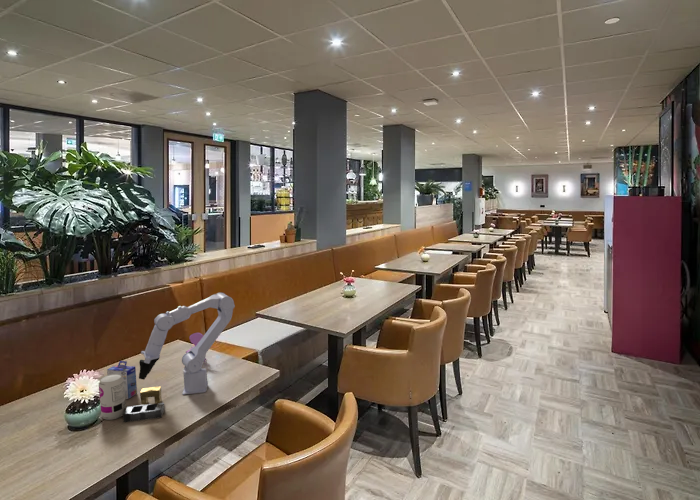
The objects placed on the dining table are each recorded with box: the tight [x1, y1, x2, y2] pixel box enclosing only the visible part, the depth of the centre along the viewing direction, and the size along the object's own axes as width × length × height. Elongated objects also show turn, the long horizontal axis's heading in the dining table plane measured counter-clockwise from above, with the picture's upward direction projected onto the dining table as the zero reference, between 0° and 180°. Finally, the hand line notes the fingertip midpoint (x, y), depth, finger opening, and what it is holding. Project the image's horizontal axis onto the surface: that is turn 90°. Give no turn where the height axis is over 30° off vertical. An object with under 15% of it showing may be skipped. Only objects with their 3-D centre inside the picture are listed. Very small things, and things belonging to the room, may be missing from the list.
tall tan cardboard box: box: [139, 385, 162, 405], centre depth 165 cm, size 7×4×6 cm, turn 104°
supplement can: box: [98, 374, 127, 421], centre depth 155 cm, size 8×8×15 cm
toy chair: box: [185, 332, 207, 361], centre depth 203 cm, size 8×9×15 cm
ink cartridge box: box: [106, 360, 138, 400], centre depth 171 cm, size 10×6×14 cm, turn 79°
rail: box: [122, 401, 165, 423], centre depth 156 cm, size 13×6×3 cm, turn 104°
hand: (143, 376), depth 164 cm, fingers open, 7 cm apart
